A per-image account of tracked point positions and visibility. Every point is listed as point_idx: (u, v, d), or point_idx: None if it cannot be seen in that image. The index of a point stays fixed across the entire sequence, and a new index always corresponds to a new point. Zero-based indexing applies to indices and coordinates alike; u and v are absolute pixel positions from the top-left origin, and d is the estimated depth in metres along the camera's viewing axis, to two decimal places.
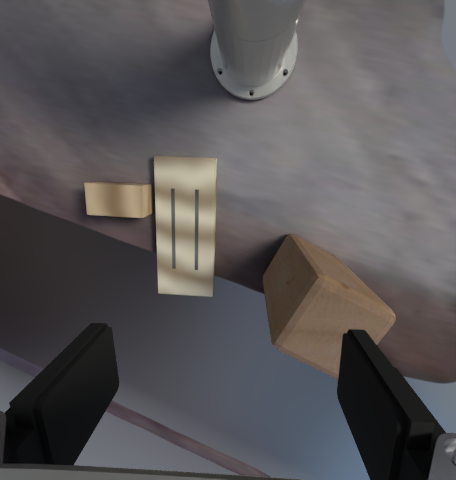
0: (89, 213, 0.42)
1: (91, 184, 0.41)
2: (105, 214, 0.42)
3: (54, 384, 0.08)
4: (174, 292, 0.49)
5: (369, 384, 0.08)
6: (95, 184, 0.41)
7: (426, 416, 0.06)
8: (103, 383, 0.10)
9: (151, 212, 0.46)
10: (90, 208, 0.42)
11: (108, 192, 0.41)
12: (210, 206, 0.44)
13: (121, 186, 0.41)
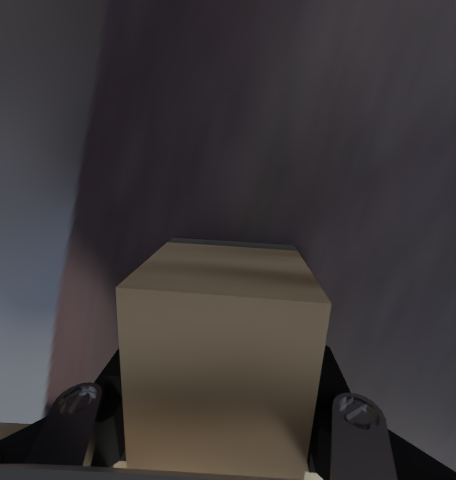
0: (125, 304, 0.06)
1: (315, 346, 0.06)
2: (129, 396, 0.07)
3: None
4: None
5: None
6: (313, 369, 0.06)
7: (329, 380, 0.07)
8: None
9: None
10: (157, 315, 0.06)
11: (261, 430, 0.07)
12: None
13: None
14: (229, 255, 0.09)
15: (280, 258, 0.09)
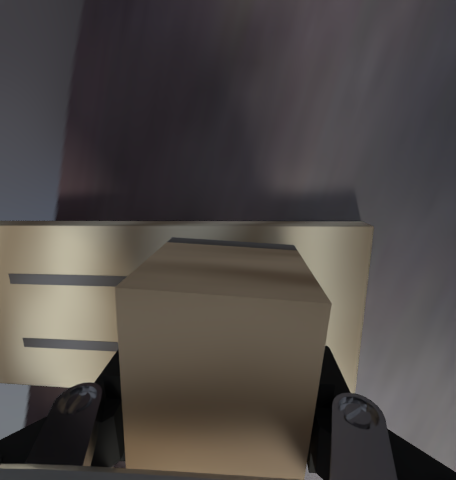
0: (124, 304, 0.06)
1: (315, 347, 0.06)
2: (128, 396, 0.07)
3: None
4: None
5: None
6: (313, 369, 0.06)
7: (329, 380, 0.07)
8: None
9: None
10: (157, 315, 0.06)
11: (262, 430, 0.07)
12: None
13: None
14: (229, 255, 0.09)
15: (280, 258, 0.09)
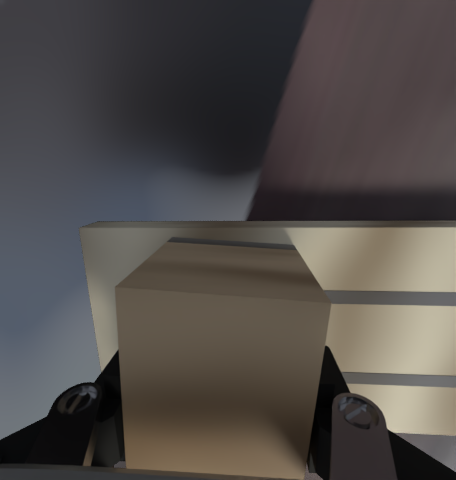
0: (124, 304, 0.06)
1: (315, 346, 0.06)
2: (128, 395, 0.07)
3: None
4: (97, 293, 0.12)
5: None
6: (313, 369, 0.06)
7: (329, 380, 0.07)
8: None
9: None
10: (156, 314, 0.06)
11: (261, 429, 0.07)
12: (444, 421, 0.12)
13: None
14: (229, 255, 0.09)
15: (280, 258, 0.09)
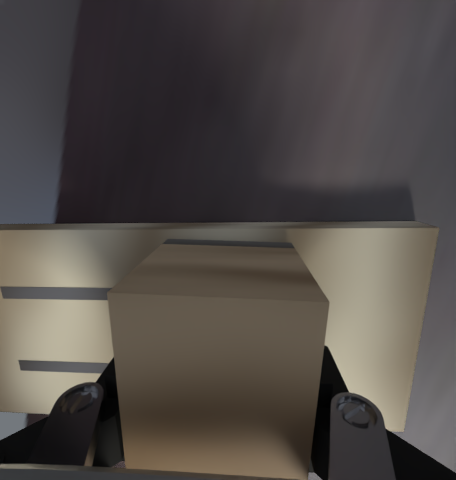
0: (118, 309, 0.06)
1: (314, 347, 0.06)
2: (125, 402, 0.07)
3: None
4: None
5: None
6: (313, 370, 0.06)
7: (328, 379, 0.07)
8: None
9: None
10: (151, 319, 0.06)
11: (263, 432, 0.07)
12: None
13: None
14: (225, 255, 0.09)
15: (277, 257, 0.09)
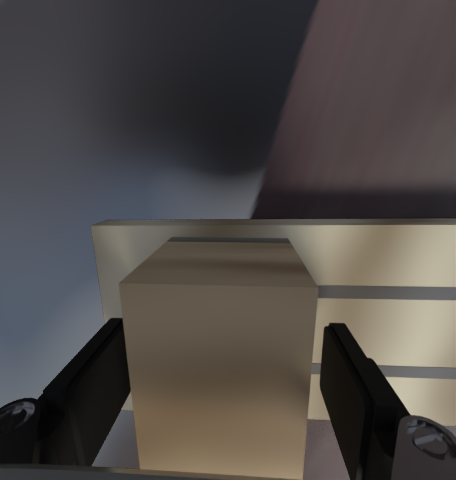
0: (128, 298, 0.07)
1: (306, 329, 0.07)
2: (136, 384, 0.08)
3: (82, 374, 0.08)
4: (107, 289, 0.13)
5: (344, 373, 0.08)
6: (306, 350, 0.07)
7: (391, 400, 0.07)
8: (123, 375, 0.10)
9: None
10: (158, 306, 0.07)
11: (262, 410, 0.07)
12: (441, 412, 0.13)
13: (293, 470, 0.08)
14: (225, 250, 0.10)
15: (273, 251, 0.10)
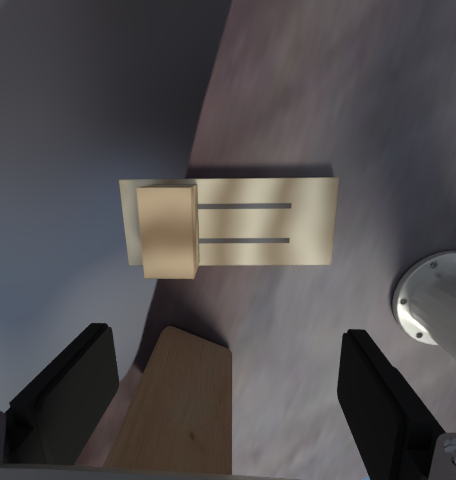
0: (139, 192, 0.25)
1: (188, 200, 0.25)
2: (141, 220, 0.25)
3: (54, 384, 0.08)
4: (125, 207, 0.30)
5: (369, 384, 0.08)
6: (189, 207, 0.25)
7: (426, 416, 0.06)
8: (103, 383, 0.10)
9: None
10: (147, 194, 0.25)
11: (178, 227, 0.26)
12: (265, 258, 0.31)
13: (190, 249, 0.26)
14: (170, 185, 0.27)
15: (187, 185, 0.27)
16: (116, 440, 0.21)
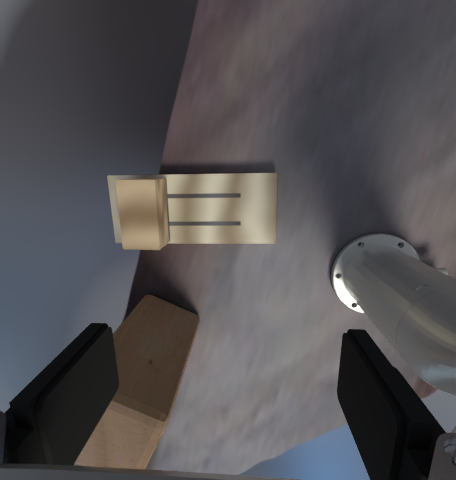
0: (117, 183, 0.33)
1: (153, 189, 0.33)
2: (119, 204, 0.34)
3: (54, 384, 0.08)
4: (112, 196, 0.39)
5: (369, 384, 0.08)
6: (154, 194, 0.33)
7: (425, 416, 0.06)
8: (103, 383, 0.10)
9: None
10: (123, 184, 0.33)
11: (147, 210, 0.34)
12: (222, 238, 0.39)
13: (156, 226, 0.34)
14: None
15: None
16: None
